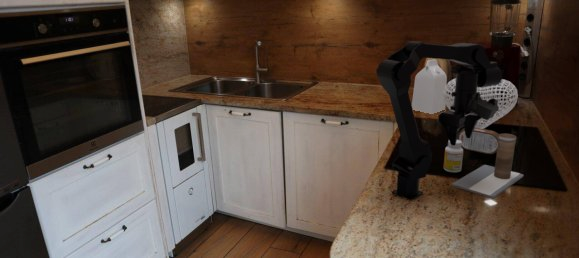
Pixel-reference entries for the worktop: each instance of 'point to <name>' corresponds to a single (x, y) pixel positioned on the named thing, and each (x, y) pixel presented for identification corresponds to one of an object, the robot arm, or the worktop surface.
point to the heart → (501, 113)
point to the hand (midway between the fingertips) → (460, 141)
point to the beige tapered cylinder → (504, 156)
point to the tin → (480, 141)
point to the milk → (429, 89)
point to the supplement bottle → (453, 157)
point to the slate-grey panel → (486, 182)
